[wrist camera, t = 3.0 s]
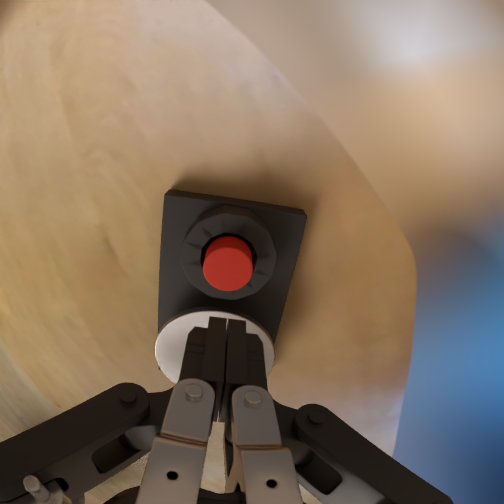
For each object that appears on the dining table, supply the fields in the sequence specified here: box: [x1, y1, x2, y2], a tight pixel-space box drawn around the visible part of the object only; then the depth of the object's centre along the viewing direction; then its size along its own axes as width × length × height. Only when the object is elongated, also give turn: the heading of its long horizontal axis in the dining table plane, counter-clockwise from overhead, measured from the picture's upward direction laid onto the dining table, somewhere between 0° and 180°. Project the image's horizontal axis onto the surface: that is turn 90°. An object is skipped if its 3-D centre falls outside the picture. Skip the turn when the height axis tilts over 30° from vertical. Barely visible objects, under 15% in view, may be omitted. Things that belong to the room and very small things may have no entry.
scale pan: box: [155, 306, 275, 384], centre depth 22 cm, size 9×9×1 cm
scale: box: [158, 190, 307, 370], centre depth 22 cm, size 15×9×3 cm, turn 170°
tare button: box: [203, 236, 253, 291], centre depth 18 cm, size 3×3×2 cm
